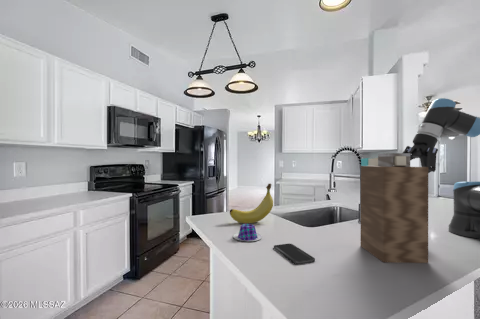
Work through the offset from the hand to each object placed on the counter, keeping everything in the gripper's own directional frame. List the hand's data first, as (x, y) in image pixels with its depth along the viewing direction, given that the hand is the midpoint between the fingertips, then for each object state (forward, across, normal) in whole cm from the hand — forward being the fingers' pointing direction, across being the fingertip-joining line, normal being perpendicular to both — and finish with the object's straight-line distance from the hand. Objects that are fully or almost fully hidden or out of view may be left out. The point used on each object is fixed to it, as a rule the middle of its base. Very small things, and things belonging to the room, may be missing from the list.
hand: (403, 183), depth 96 cm
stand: (+26, +17, -5) cm, 31 cm away
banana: (+47, -22, -46) cm, 69 cm away
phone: (+40, +18, -36) cm, 57 cm away
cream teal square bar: (-1, +9, -17) cm, 19 cm away
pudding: (+47, +1, -49) cm, 68 cm away
